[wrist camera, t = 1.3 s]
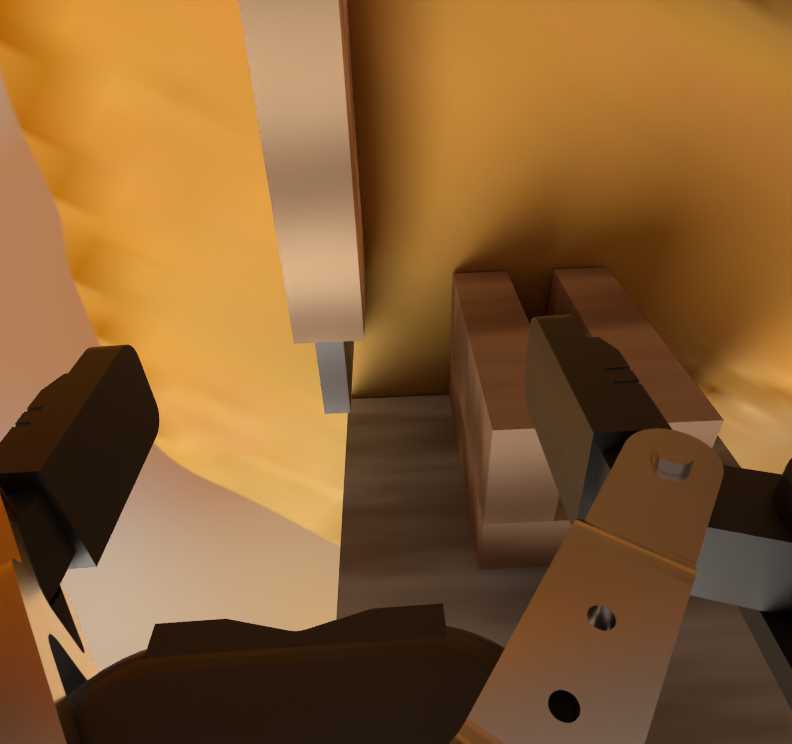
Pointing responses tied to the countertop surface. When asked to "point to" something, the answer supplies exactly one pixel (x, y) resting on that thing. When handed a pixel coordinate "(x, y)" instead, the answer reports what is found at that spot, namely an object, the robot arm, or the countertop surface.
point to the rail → (312, 174)
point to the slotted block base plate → (528, 501)
